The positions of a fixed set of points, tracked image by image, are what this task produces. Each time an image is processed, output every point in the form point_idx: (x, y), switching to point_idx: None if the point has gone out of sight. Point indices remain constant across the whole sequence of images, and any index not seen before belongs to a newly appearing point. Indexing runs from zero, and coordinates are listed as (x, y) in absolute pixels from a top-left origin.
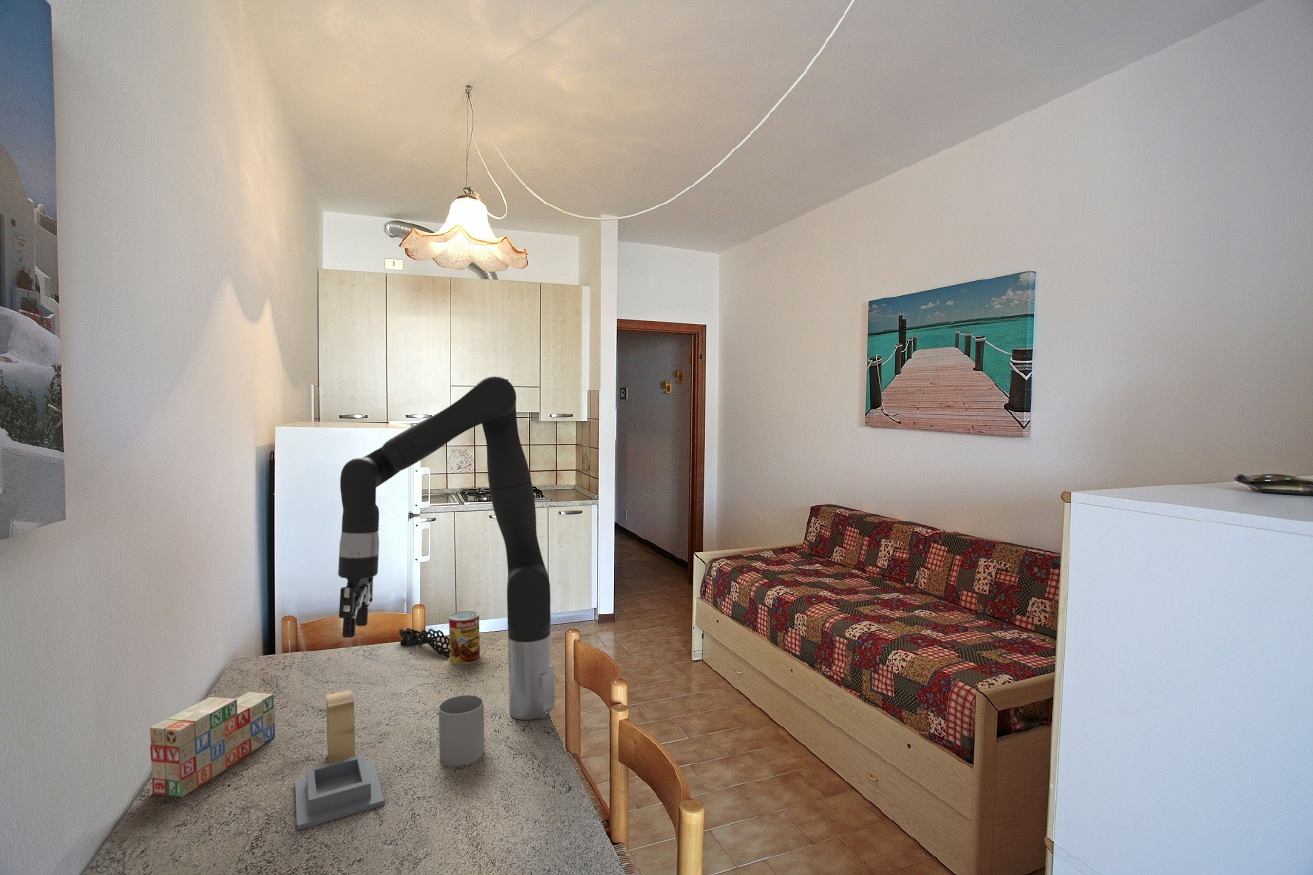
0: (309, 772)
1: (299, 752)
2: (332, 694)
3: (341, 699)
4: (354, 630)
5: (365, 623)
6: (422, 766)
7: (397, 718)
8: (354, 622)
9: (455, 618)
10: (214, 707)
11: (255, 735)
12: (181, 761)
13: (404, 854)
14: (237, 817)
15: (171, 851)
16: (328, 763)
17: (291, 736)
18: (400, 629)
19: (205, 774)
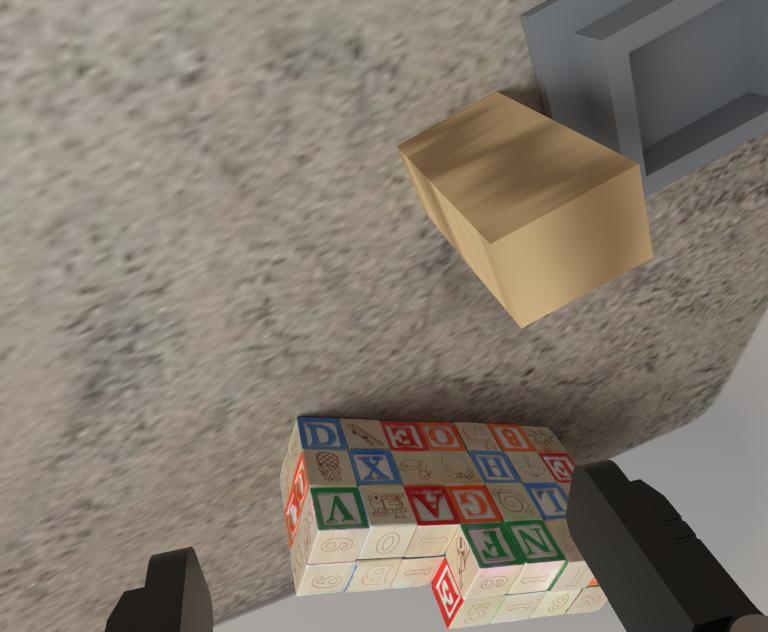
0: (653, 184)
1: (397, 304)
2: (524, 303)
3: (596, 235)
4: (638, 500)
5: (187, 567)
6: None
7: (128, 48)
8: (703, 576)
9: None
10: (527, 576)
11: (375, 447)
12: None
13: None
14: (669, 277)
15: (731, 325)
16: (620, 149)
17: (294, 378)
18: None
19: (508, 436)
